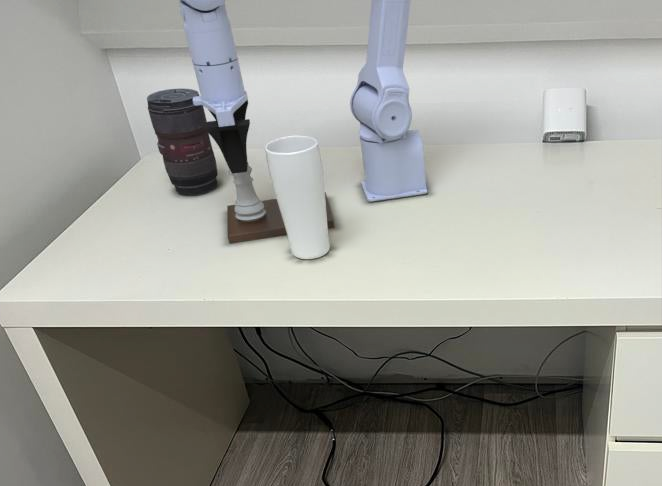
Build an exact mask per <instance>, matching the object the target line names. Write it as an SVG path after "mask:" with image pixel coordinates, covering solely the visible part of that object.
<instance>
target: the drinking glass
mask: <svg viewBox="0 0 662 486" xmlns="http://www.w3.org/2000/svg"><path fill="white" fill-rule="evenodd" d="M264 152H265V159H266V163H267V170H268V174H269V177H270V182H271V185H272V189H273V192H274V196H275V199H277V202H278V206H279V209H280V212H281V215H282V219H283V222H284V225H285V229H286V232H287V235H286V236H287V239H288V243H289V249H290V252H291V254H292V256H294V257H295V258H298V259H302V260H313V259H318V258H321V257H323V256H324V255H326V254H328V252H329V251H330V248H331V242H330V237H329V236H330V235H329V229H328V226H327V214H326V201H325V192H326V190H325V189H326V188H325V176H324V168H323V162H322V161H323V160H322V156H321V151H320V147H319V142H318V140H317V139H316V138H314V137H313V136H308V135H289V136H282V137H279V138H275V139H273V140H270V141H269V142H268V143H267V144H266V145H265V146H264Z"/></svg>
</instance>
